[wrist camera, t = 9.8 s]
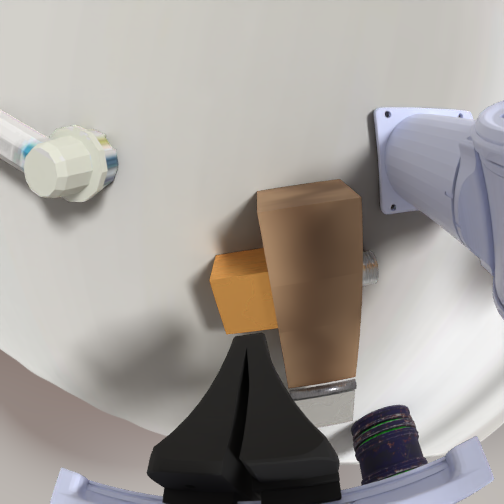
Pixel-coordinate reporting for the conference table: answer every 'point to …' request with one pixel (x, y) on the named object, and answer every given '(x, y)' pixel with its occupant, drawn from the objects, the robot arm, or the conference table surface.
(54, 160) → the white handled tool
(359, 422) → the storage jar
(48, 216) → the conference table surface
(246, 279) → the orange block
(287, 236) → the block
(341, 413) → the plate
